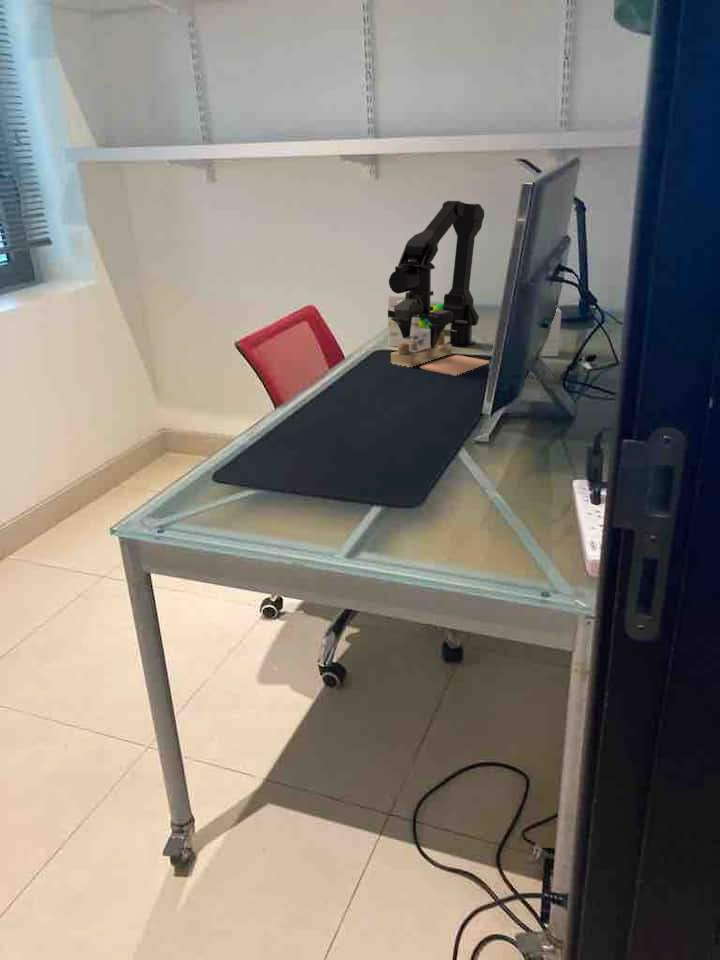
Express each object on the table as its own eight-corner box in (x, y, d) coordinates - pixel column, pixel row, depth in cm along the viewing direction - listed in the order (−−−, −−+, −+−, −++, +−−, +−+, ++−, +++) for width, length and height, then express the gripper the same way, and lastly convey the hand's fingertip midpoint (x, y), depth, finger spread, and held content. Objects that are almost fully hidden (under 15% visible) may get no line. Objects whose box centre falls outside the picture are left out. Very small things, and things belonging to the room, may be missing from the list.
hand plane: (431, 351, 221) (432, 330, 218) (451, 354, 216) (451, 333, 214) (390, 363, 209) (390, 342, 206) (410, 367, 204) (410, 345, 202)
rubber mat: (456, 356, 214) (456, 354, 214) (491, 363, 206) (492, 361, 206) (420, 368, 203) (420, 366, 203) (456, 376, 196) (456, 373, 195)
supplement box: (554, 350, 218) (558, 306, 213) (558, 357, 211) (562, 311, 206) (528, 350, 219) (531, 306, 214) (531, 357, 212) (534, 311, 207)
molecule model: (436, 336, 239) (448, 330, 245) (436, 307, 235) (449, 303, 242) (411, 333, 243) (424, 328, 250) (411, 305, 240) (424, 301, 246)
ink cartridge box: (419, 344, 229) (420, 294, 223) (414, 347, 225) (415, 297, 219) (393, 342, 232) (392, 293, 226) (387, 346, 228) (387, 296, 222)
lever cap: (421, 343, 215) (421, 327, 213) (435, 346, 211) (435, 329, 210) (403, 348, 209) (403, 332, 207) (417, 351, 206) (417, 335, 204)
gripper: (373, 288, 205) (374, 346, 211) (428, 295, 193) (427, 356, 199) (400, 283, 212) (400, 339, 218) (454, 289, 200) (453, 348, 206)
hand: (419, 345), depth 210 cm, fingers open, 9 cm apart
